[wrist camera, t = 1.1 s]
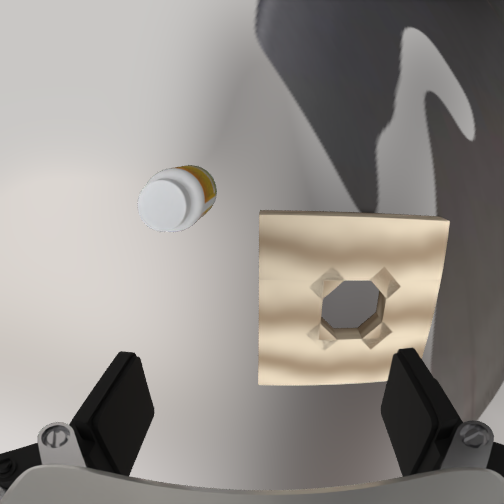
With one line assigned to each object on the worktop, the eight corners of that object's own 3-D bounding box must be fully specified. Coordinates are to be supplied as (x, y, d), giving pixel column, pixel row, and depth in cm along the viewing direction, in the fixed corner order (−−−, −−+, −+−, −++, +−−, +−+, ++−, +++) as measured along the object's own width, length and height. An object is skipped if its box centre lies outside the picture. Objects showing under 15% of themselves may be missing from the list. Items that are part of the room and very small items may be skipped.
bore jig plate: (260, 210, 33) (259, 214, 30) (439, 216, 32) (449, 221, 29) (259, 372, 39) (258, 384, 36) (409, 366, 37) (415, 377, 35)
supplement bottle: (175, 158, 32) (138, 161, 23) (224, 174, 32) (204, 182, 23) (161, 207, 33) (122, 228, 24) (208, 223, 34) (184, 250, 24)
